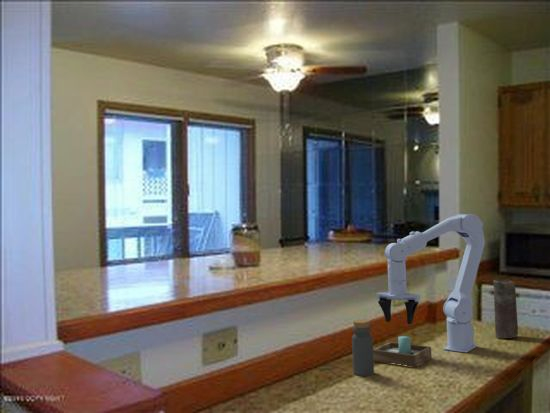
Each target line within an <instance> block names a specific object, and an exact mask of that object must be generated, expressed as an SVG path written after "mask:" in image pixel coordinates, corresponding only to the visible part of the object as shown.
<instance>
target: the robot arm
mask: <svg viewBox="0 0 550 413" xmlns="http://www.w3.org/2000/svg"><path fill="white" fill-rule="evenodd" d="M483 227H484V223H483V221H482V220H481V219H480V217H479V216H477V215H476V214H474V213H469V214H468V213H467V214H466V213H465V214H463V213H457V214H455V215H454V216H449V217H448V218H446V219H444V220H442V221H441V222H439V223H437V224H435V225H433V226H432V227H430V228H428V229H426V230H425V231H423V232H420V231H418V230H417V231H411V232H409V235H407V236H405V237H403V238H398V239H397V240H396V242H391V243H389V244H388V245H387V246H386V247H385V249H384V256H385V258H386V260H387V281H388V282H387V284H388V292H386V291H385V292H384V291H383V292H382V291H379V292H376V299H377V300H378V301H377V302H378V305H379V307H380V308H381V310H382V313H383V316H384V319H385V322H387V323H390V322H391V321H392V312H391V311H392V310H391V309H392V300H395V301H405V302H404V305H405V309H406V310H405V311H406V322H407V324H408V325H411V324H413V321H414V318H415V317H414V315H415V312H416V309H417V308H418V305H419V304H420V301H421V294H414V293H408V290H407V288H408V286H407V270H406V269H407V268H406V267H407V266H406V260H407V258H408V256H411V255H412V254H414V253H416V252H418V251H420V250H423V249H424V248H426V246H427V243H428V242H430V241H431V240H434V239H436V238H438V237H440V236H442V235H444V234H447V233H449V232H454V233H456V234H458V235H459V236H461V238H462V240H463V241H464V243H465V244H466V245H465V249H464V252H463V257H462V261H461V265H460V268H459V270H458V271H459V272H458V274H457V277H456V281H455V282H456V283H455V285H454V288H453V290H452V291H451V293H449V294H448V299H447V300H446V301H445V302H444V304H443V308H442V310H443V313H444V315H445V316H446V332H447V333H446V334H447V338H446V340H447V345H446V346H444V347H442V350H444V351H452V352H453V351H454V352H461V353H468V352H470V351H472V350H473V349H475V348H477V347H478V344H475V336H474V335H475V331H474V330H475V329H474V325H473V323H472V322H471V319H472V317H473V314H474V311H473V304H474V301H473V298H472V292H473V289H474V285H475V282H476V277H477V273H478V270H479V266H480V263H481V259H482V256H483V252H484V248H485V243H486V239H485V235H484V231H483Z"/></svg>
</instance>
